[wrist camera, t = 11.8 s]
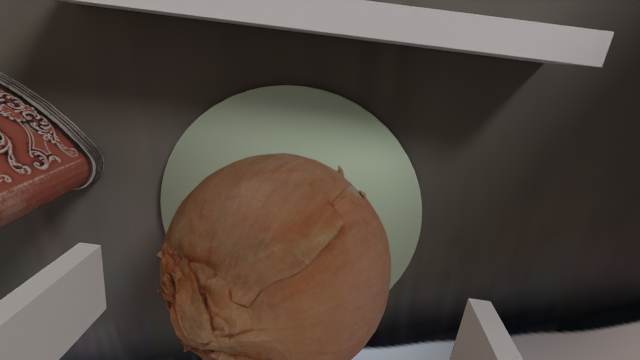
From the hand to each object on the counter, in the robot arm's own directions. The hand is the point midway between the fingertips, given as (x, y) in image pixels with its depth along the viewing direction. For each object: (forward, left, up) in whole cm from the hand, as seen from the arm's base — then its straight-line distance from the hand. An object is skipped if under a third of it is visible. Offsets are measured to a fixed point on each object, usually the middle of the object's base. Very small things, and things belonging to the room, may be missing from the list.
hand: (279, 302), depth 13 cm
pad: (0, 0, -8) cm, 8 cm away
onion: (0, 0, -7) cm, 7 cm away
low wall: (0, -10, -8) cm, 12 cm away
